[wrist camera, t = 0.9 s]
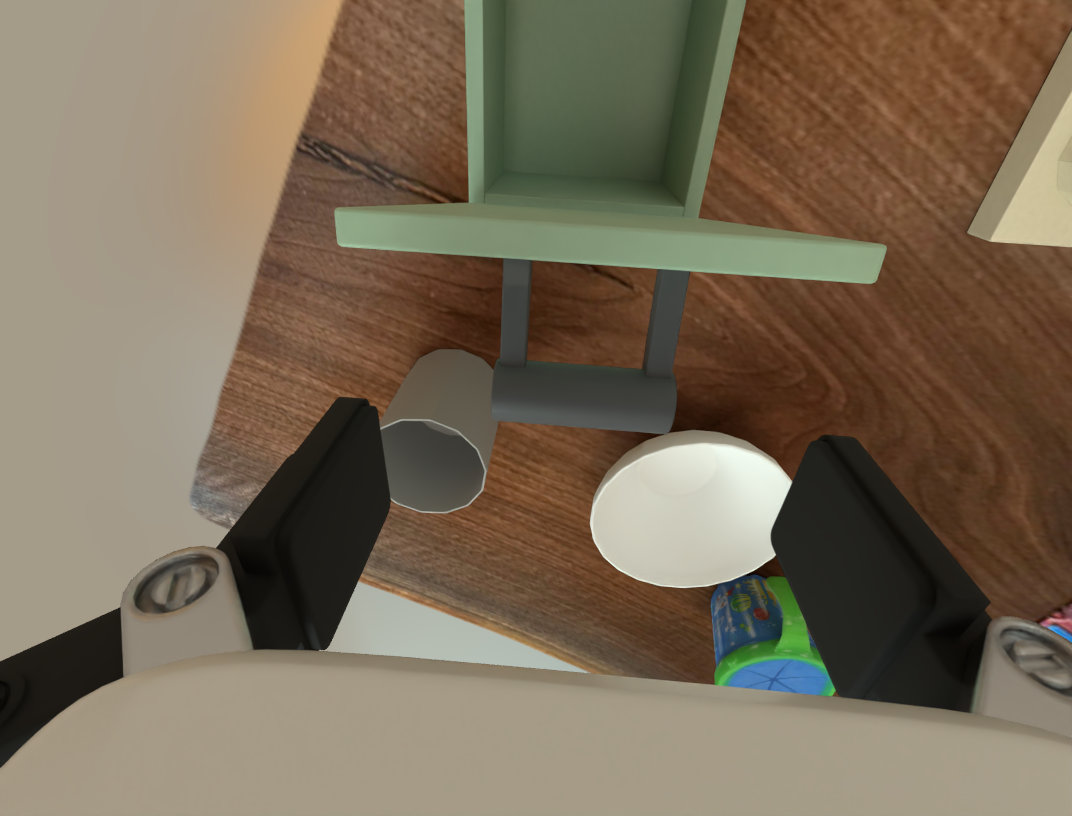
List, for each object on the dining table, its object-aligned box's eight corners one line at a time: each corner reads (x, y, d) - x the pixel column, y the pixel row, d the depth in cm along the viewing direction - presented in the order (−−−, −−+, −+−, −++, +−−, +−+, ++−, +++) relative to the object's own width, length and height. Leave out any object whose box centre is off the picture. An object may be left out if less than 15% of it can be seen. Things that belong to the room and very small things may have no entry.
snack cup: (724, 537, 49) (756, 632, 40) (826, 554, 49) (878, 652, 41) (675, 627, 57) (692, 720, 49) (762, 641, 58) (794, 736, 49)
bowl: (726, 357, 38) (753, 406, 32) (795, 489, 45) (828, 549, 39) (554, 442, 44) (551, 497, 38) (638, 548, 50) (647, 608, 45)
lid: (331, 207, 10) (355, 442, 13) (890, 245, 10) (812, 480, 12) (467, 202, 24) (466, 313, 27) (700, 218, 24) (680, 329, 26)
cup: (468, 447, 45) (444, 529, 36) (389, 399, 42) (344, 475, 34) (523, 386, 41) (509, 462, 32) (439, 329, 38) (401, 395, 30)
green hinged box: (493, -137, 24) (458, -236, 17) (728, -126, 24) (795, -221, 17) (492, 182, 32) (468, 209, 25) (668, 193, 32) (696, 224, 25)
